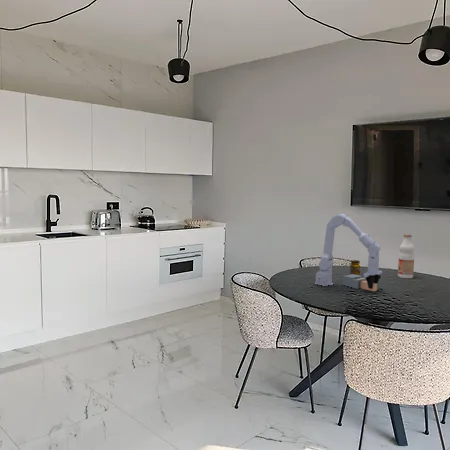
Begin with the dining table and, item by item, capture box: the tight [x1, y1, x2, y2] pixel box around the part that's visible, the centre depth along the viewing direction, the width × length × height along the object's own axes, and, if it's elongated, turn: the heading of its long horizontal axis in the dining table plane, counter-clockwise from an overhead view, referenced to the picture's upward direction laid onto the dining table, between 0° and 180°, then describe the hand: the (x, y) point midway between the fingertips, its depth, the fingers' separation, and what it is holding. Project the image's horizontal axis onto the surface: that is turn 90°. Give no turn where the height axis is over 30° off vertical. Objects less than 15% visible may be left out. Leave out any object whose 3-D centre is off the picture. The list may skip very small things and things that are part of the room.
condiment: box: [349, 259, 361, 276], centre depth 284 cm, size 7×8×12 cm
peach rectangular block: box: [359, 281, 378, 292], centre depth 258 cm, size 9×3×4 cm, turn 36°
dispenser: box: [342, 274, 367, 290], centre depth 265 cm, size 10×9×6 cm
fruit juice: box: [397, 233, 415, 279], centre depth 291 cm, size 9×9×28 cm
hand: (372, 287), depth 256 cm, fingers closed on peach rectangular block, 3 cm apart
